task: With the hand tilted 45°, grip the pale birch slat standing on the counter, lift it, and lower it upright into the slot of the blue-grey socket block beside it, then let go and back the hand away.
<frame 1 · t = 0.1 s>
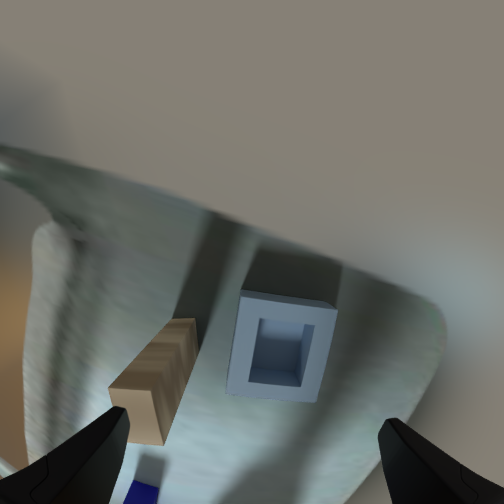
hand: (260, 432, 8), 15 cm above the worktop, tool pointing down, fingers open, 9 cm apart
blue-grey socket block: (275, 340, 24), on the worktop
slat: (185, 335, 24), on the worktop
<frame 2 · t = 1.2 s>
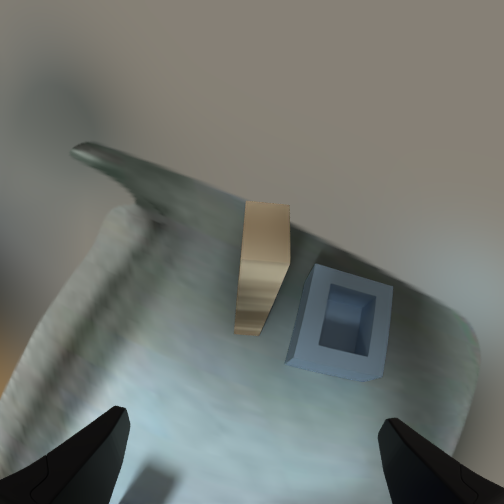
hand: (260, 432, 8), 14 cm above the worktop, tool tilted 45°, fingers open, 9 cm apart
blue-grey socket block: (334, 331, 24), on the worktop
slat: (247, 317, 24), on the worktop
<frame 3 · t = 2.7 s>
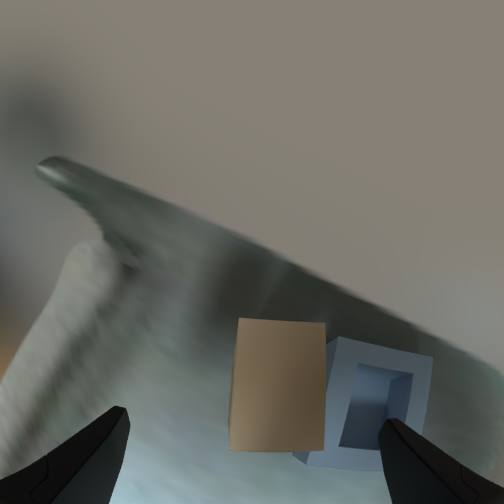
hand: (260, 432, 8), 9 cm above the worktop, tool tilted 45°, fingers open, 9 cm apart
blue-grey socket block: (355, 410, 17), on the worktop
slat: (245, 399, 17), on the worktop
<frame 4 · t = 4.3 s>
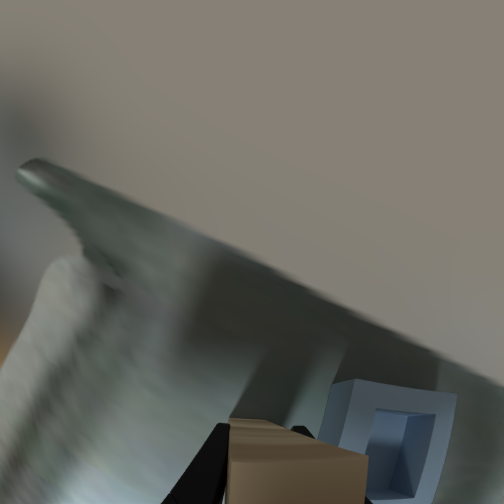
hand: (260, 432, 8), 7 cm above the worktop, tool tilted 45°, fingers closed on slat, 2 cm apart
blue-grey socket block: (368, 450, 14), on the worktop
slat: (245, 443, 14), on the worktop, touching gripper
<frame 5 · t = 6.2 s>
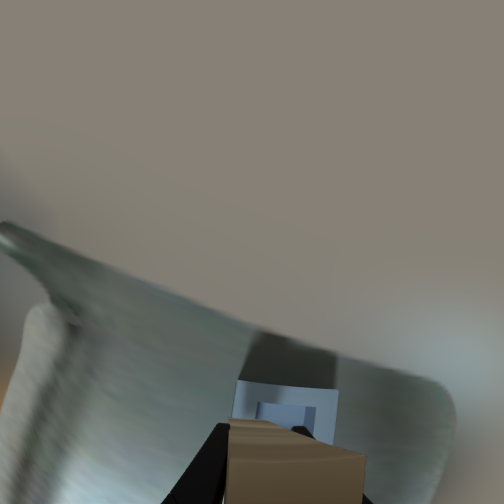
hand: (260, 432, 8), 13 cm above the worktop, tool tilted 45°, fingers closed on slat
blue-grey socket block: (274, 434, 20), on the worktop
slat: (244, 443, 14), point 6 cm above the worktop, touching gripper
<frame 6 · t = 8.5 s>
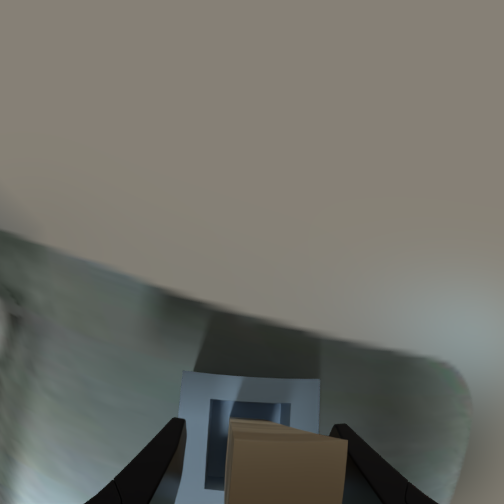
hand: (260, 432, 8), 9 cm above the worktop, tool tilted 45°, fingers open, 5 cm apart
blue-grey socket block: (244, 440, 15), on the worktop
slat: (244, 441, 15), point 1 cm above the worktop, touching blue-grey socket block
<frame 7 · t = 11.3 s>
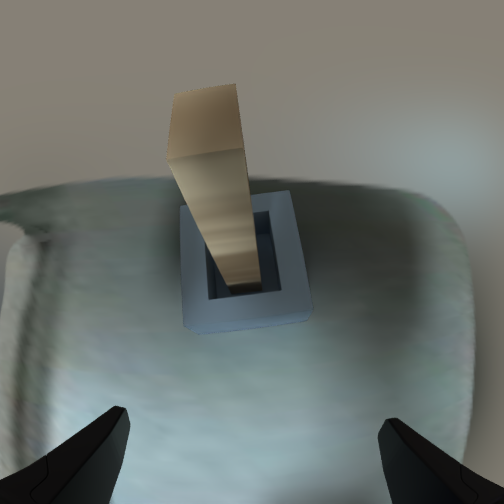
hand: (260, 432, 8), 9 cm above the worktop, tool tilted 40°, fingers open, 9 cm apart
blue-grey socket block: (245, 273, 20), on the worktop
slat: (244, 270, 20), resting on blue-grey socket block
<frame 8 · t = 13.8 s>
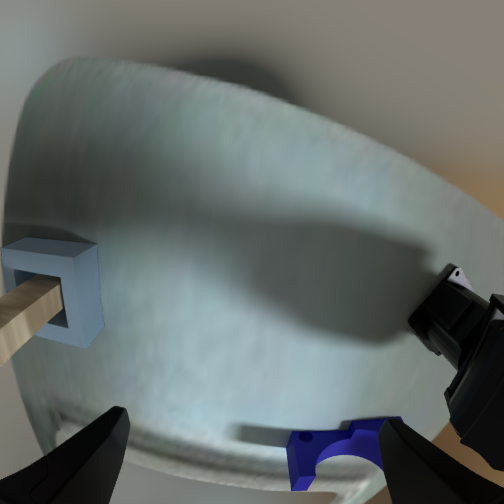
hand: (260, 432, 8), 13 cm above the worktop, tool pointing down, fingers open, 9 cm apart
blue-grey socket block: (62, 281, 21), on the worktop
cable clip: (344, 431, 26), on the worktop
slat: (59, 283, 20), resting on blue-grey socket block
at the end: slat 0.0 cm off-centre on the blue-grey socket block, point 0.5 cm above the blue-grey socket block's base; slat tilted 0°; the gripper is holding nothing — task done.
